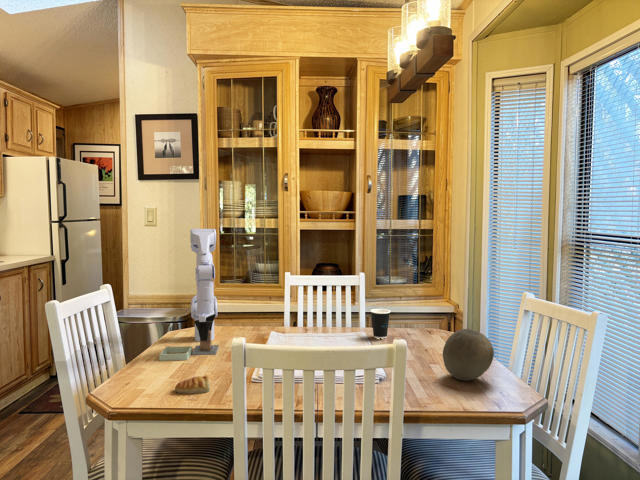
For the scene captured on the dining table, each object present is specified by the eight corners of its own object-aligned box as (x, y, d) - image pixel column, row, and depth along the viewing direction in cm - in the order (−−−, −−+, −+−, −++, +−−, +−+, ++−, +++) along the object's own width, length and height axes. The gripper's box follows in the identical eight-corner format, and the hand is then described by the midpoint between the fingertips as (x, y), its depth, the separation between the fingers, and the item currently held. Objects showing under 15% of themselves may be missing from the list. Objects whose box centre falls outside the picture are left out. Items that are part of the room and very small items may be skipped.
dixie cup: (387, 341, 181) (388, 313, 180) (368, 339, 183) (368, 311, 183) (391, 336, 188) (392, 309, 187) (372, 334, 191) (373, 308, 190)
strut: (201, 349, 165) (201, 330, 164) (211, 349, 165) (211, 330, 164) (200, 352, 161) (199, 332, 161) (209, 352, 161) (209, 332, 161)
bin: (166, 355, 161) (166, 346, 161) (192, 354, 162) (192, 346, 162) (159, 363, 152) (159, 354, 152) (187, 362, 153) (187, 353, 153)
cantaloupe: (459, 390, 131) (460, 337, 130) (434, 373, 144) (434, 325, 143) (502, 385, 134) (503, 334, 134) (473, 369, 148) (474, 323, 147)
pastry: (175, 397, 125) (175, 383, 125) (174, 388, 131) (174, 375, 131) (211, 392, 128) (211, 379, 128) (208, 384, 135) (208, 371, 134)
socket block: (196, 350, 167) (196, 345, 167) (218, 350, 167) (218, 345, 167) (192, 357, 159) (192, 352, 159) (215, 357, 159) (215, 351, 159)
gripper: (197, 295, 169) (197, 332, 170) (189, 303, 154) (190, 343, 155) (217, 295, 169) (217, 332, 170) (211, 303, 155) (211, 343, 156)
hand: (205, 337), depth 163 cm, fingers open, 7 cm apart
